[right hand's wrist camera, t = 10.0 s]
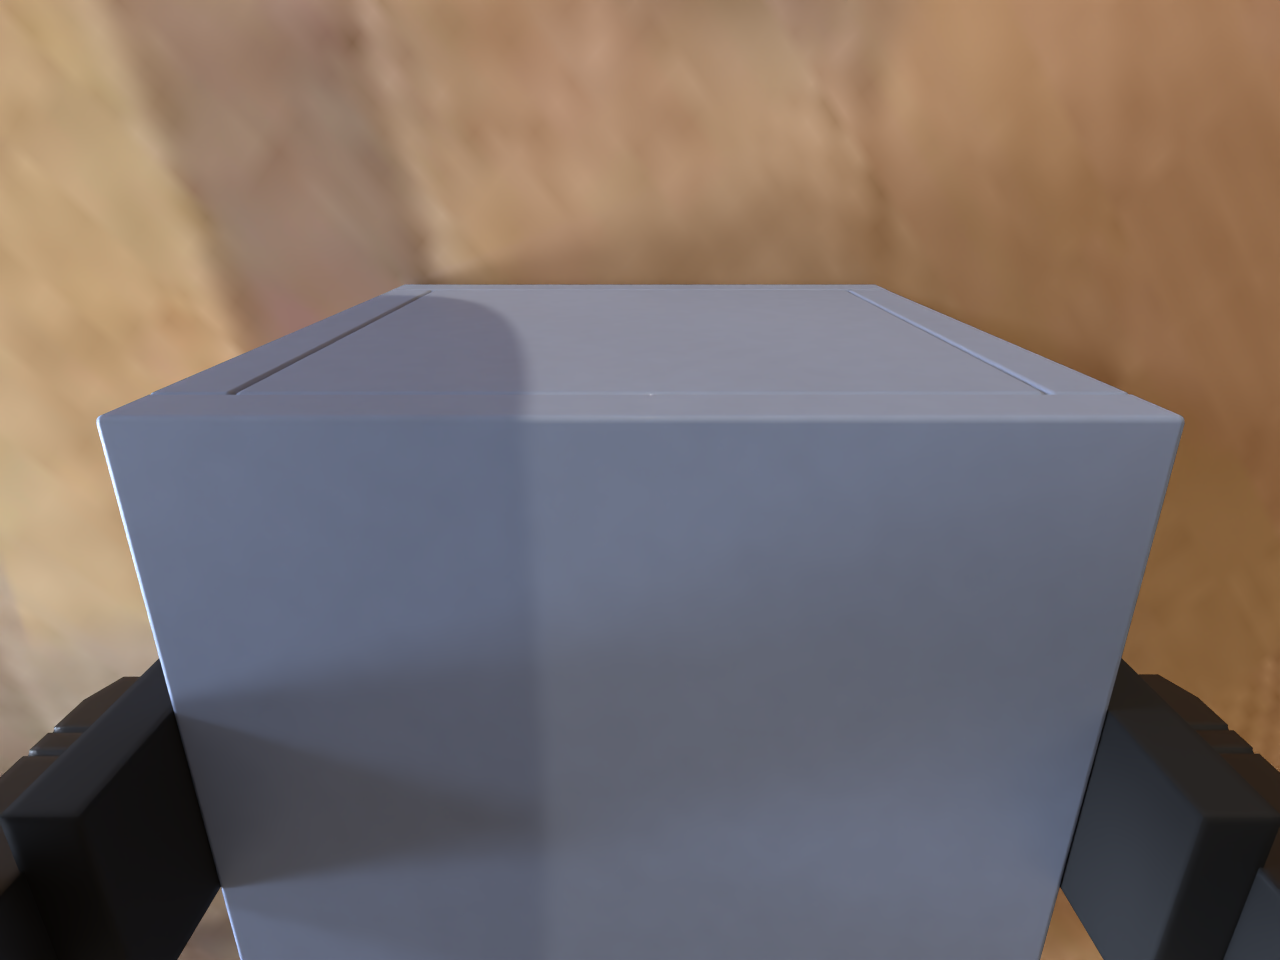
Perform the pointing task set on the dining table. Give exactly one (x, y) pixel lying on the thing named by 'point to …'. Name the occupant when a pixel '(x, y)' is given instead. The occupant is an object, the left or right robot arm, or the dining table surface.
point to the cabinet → (640, 621)
